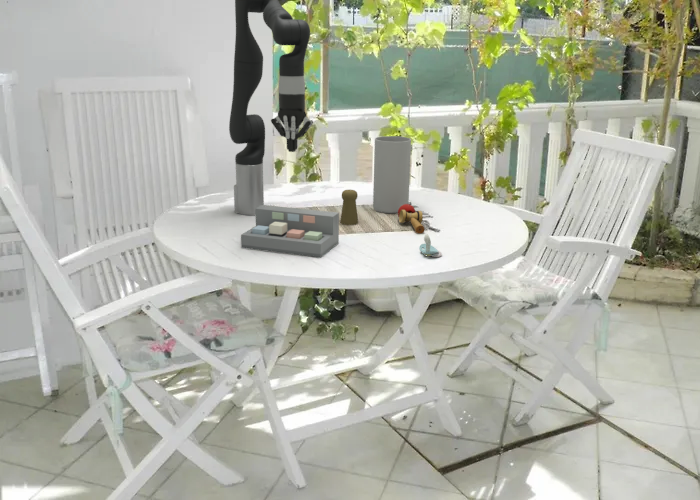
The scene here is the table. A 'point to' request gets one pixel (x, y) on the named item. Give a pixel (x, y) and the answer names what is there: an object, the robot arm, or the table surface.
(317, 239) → the key sage
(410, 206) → the kendama
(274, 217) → the keypad
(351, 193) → the olive ball-ended cylinder
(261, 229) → the key blue
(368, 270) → the table surface
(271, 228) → the key cream
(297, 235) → the key coral
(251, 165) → the robot arm
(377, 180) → the cylinder vase
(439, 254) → the pacifier
